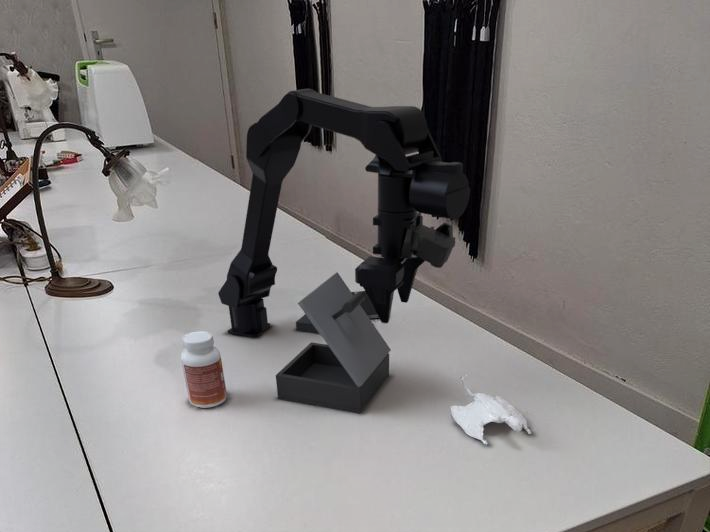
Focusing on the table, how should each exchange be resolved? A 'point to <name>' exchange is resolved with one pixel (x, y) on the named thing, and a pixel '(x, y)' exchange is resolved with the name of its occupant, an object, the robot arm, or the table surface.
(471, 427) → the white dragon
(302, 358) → the open square tray
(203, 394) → the pill bottle
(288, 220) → the table surface
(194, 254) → the table surface
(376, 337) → the box lid with handle
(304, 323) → the switch block
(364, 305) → the smartphone
